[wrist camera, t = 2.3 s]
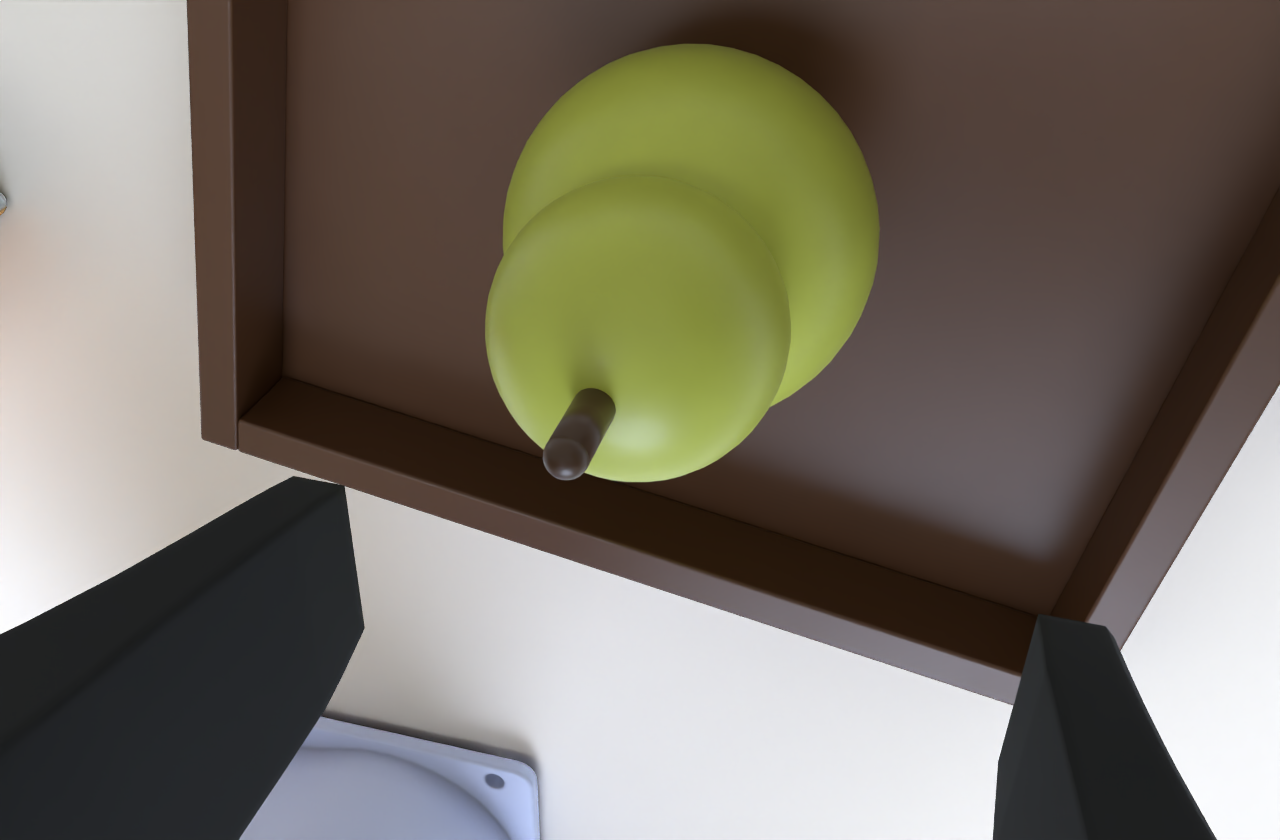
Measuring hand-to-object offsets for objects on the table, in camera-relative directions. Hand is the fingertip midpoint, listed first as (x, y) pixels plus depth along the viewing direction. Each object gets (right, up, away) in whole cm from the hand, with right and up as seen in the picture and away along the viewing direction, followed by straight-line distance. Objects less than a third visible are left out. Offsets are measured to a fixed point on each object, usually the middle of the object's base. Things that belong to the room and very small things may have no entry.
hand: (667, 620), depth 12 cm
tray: (+1, +6, +8) cm, 10 cm away
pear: (+1, +6, +7) cm, 10 cm away
